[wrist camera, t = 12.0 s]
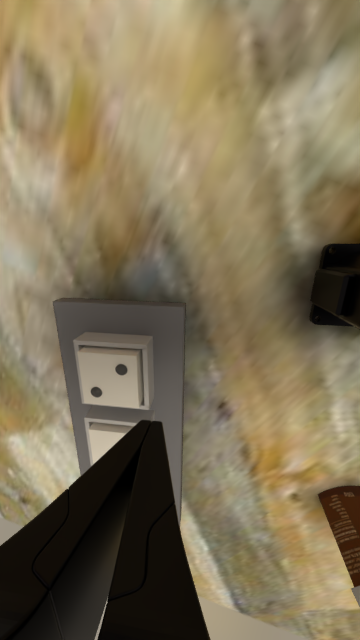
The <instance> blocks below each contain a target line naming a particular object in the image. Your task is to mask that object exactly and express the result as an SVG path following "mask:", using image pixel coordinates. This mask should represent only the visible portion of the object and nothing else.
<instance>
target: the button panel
mask: <svg viewBox="0 0 360 640" xmlns="http://www.w3.org/2000/svg"><path fill="white" fill-rule="evenodd" d="M53 306H54V312H55V318H56V325H57V331H58V337H59V343H60V349H61V356H62V362H63V368H64V374H65V380H66V386H67V393H68V399H69V405H70V411H71V417H72V424H73V430H74V436H75V442H76V448H77V455H78V461H79V467H80V473H81V475H82V474H84V473H85V472H86V471H87V470H88V469H89V468H90V467H91V466H92V465H93V459H92V451H91V444H90V436H89V428H90V426H91V425H92V423H93V422H98V423H108V424H117V425H127V426H135V425H136V424H137V423H138V422H139V421H140V420H151V421H161V422H162V423H163V429H164V435H165V441H166V447H167V454H168V460H169V466H170V472H171V479H172V485H173V491H174V497H175V505H176V509H177V516H178V521H179V526H180V521H181V497H182V453H183V409H184V365H185V321H186V303H172V302H148V301H124V300H100V299H76V298H61V299H58V300H55V301H53ZM86 345H88V346H103V347H118V348H134V349H142V352H143V377H144V398H143V400H142V402H141V405H140V407H139V408H130V407H120V406H110V405H99V404H89V403H84V397H83V390H82V383H81V375H80V368H79V361H78V354H77V352H78V351H79V350H81V349H82V348H83V347H84V346H86Z"/></svg>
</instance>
